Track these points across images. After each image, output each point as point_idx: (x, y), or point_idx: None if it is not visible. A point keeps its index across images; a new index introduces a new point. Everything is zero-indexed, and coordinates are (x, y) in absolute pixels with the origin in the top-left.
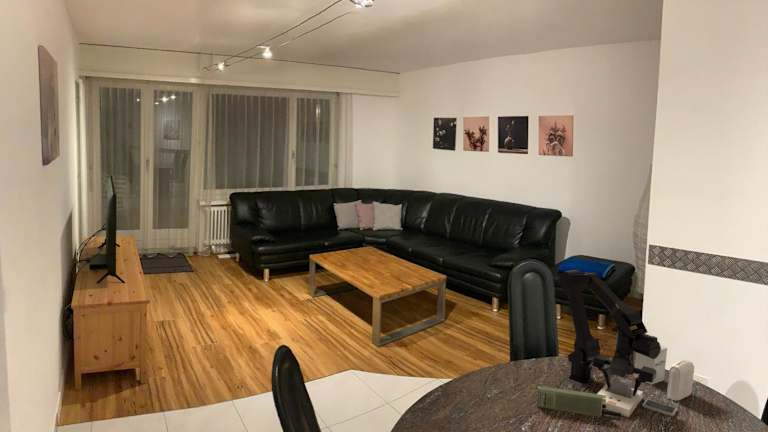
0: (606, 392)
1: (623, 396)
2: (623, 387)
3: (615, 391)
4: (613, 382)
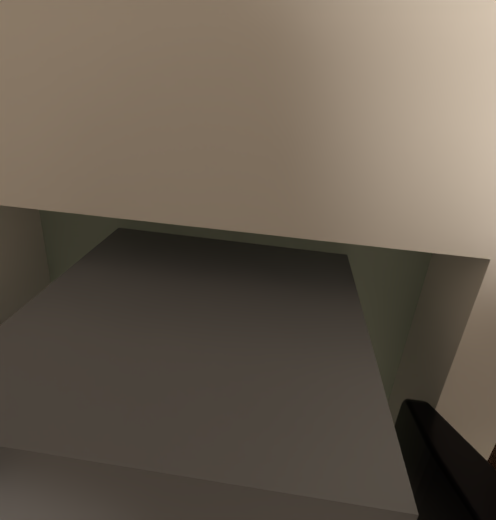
0: (456, 187)
1: (109, 212)
2: (62, 382)
3: (279, 306)
4: (361, 488)
